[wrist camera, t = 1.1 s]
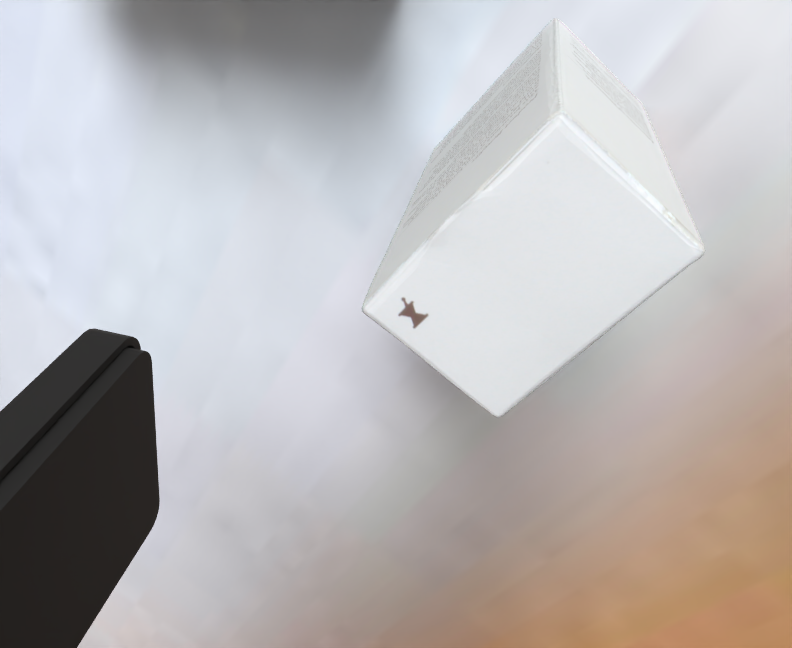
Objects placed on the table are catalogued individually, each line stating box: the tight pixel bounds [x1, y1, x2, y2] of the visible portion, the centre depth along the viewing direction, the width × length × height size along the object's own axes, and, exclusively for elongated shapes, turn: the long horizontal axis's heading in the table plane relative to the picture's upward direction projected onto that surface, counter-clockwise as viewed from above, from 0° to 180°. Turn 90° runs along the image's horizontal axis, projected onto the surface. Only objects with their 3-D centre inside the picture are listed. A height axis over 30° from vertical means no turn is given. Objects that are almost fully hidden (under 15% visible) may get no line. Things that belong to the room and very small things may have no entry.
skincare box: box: [362, 18, 705, 418], centre depth 20 cm, size 6×4×12 cm
